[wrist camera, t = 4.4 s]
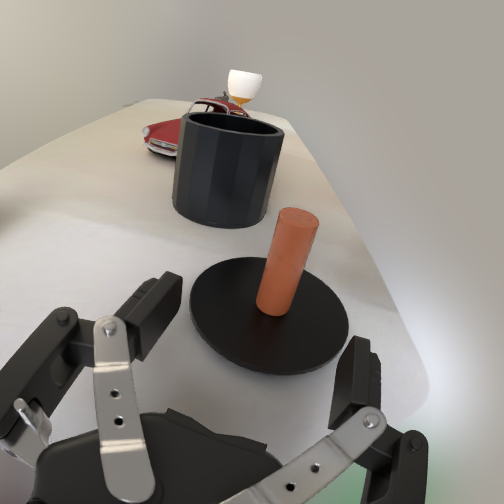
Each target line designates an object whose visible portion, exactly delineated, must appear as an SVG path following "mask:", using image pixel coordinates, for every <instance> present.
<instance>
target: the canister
mask: <svg viewBox="0 0 504 504" xmlns="http://www.w3.org/2000/svg"><path fill="white" fill-rule="evenodd" d="M283 139H284V132H283V130H281V129H280V128H278V127H276V126H274V125H271V124H269V123H266V122H263V121H259V120H256V119H252V118H248V117H243V116H238V115H231V114H225V113H214V112H193V113H187V114H184V115H183V116H182V118H181V125H180V132H179V140H178V148H177V156H176V165H175V174H174V183H173V193H172V199H173V206H174V208H175V209H176V211H177V212H178V213H180V214H181V215H182V216H184V217H185V218H187V219H189V220H191V221H194V222H196V223H199V224H203V225H206V226H211V227H217V228H244V227H249V226H252V225H255V224H257V223H258V222H260V221H261V220H262V219H263V217H264V214H265V213H266V209H267V205H268V201H269V197H270V192H271V188H272V184H273V180H274V176H275V172H276V168H277V163H278V159H279V155H280V151H281V147H282V143H283Z"/></svg>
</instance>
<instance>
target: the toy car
mask: <svg viewBox="0 0 504 504" xmlns="http://www.w3.org/2000/svg"><path fill="white" fill-rule="evenodd" d="M194 104H206V105H208V106H207V109H206V111H205V112H207V110H208V108H209V106H212V107H214V110H213V112H214V113H225V114H231V115H238V116H243V117H248V118H251V117H250V116H249V115H248V114H247V113H246V112H245V111H244V110H243V109H242V108H240V107H238V106H236V105H234V104H233V103H229V102H226V101H222V100H216V99H208V98H204V99H198V100H195V101H194V102H193V103H192V105H191V106H190V108H189V110H188V111H187V113H189V111H190V110H191V108H192V107H193V105H194ZM224 108H227V109H228V110H227V111H225V110H224ZM234 112H241V113H243V115H241V114H239V113H234ZM187 113H186V114H187ZM245 115H246V116H245ZM180 125H181V118H180V119H175V120H170V121H165V122H160V123H156V124H153V125H149V126H147V127H145V128H144V129H143V130H142V133H143V136H144V139H145V142H143V145H145V146H147V147H148V149H149V151H151V152H153V153H158V152H159V153H162V154H166V155H169V156H177V148H178V140H179V132H180Z"/></svg>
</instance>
